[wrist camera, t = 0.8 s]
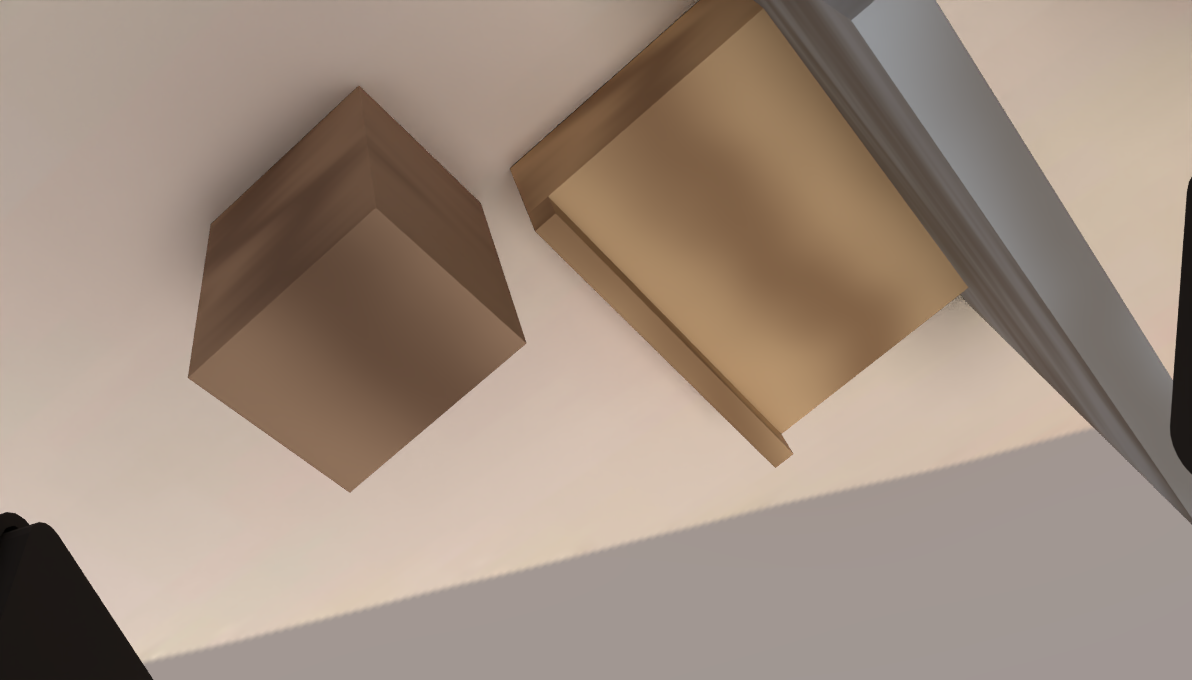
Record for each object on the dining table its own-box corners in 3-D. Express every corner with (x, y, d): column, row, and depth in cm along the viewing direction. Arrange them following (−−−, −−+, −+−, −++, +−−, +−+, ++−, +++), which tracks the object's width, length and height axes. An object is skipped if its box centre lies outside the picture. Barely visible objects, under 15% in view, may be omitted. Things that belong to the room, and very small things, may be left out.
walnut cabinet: (321, 343, 39) (327, 511, 31) (192, 241, 36) (164, 399, 29) (480, 203, 38) (526, 343, 30) (358, 85, 35) (376, 207, 27)
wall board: (781, 443, 46) (947, 718, 34) (435, 93, 35) (504, 317, 24) (996, 275, 44) (1251, 506, 32) (697, -148, 33) (913, -34, 22)
